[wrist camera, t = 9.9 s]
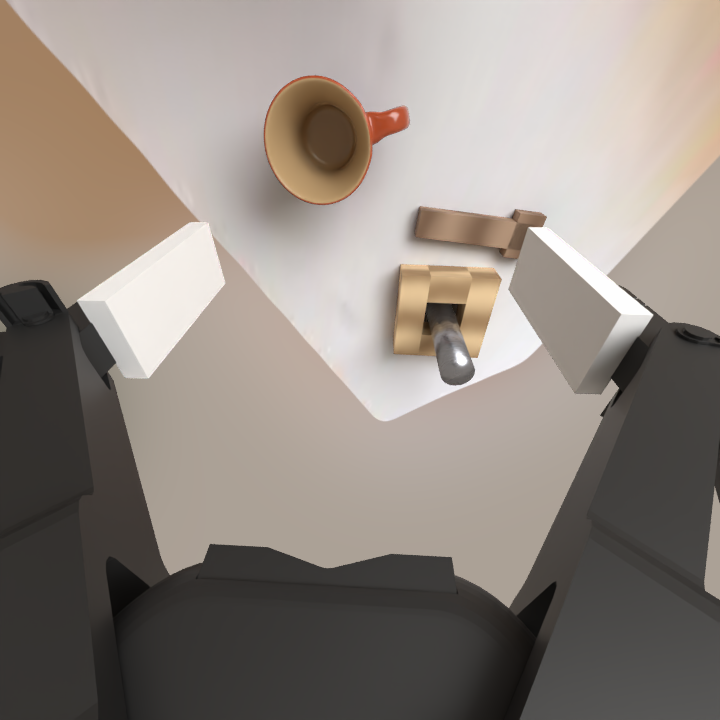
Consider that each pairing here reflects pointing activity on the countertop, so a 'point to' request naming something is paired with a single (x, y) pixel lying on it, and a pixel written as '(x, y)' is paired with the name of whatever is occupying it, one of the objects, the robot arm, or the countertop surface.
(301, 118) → the mug
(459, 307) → the socket block
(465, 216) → the bar
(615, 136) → the countertop surface
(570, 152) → the countertop surface
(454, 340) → the pin
